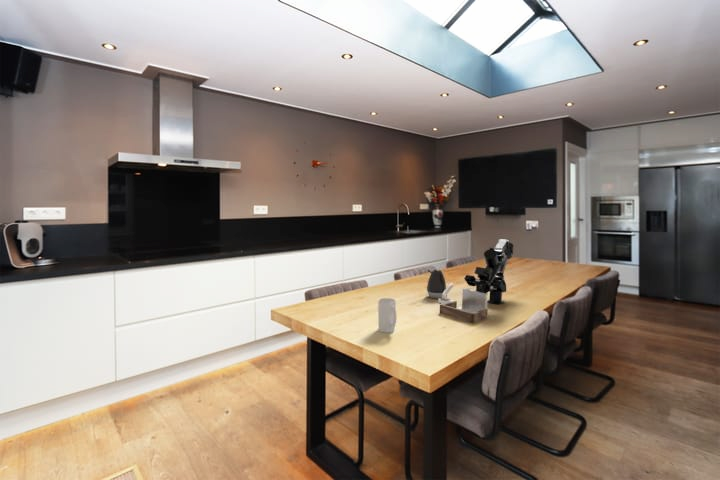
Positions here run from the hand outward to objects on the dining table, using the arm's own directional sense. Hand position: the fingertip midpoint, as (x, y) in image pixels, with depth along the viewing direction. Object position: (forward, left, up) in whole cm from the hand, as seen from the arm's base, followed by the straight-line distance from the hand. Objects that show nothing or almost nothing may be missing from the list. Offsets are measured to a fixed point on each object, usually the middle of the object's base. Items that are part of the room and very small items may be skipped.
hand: (476, 297), depth 170 cm
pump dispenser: (-6, -28, -7) cm, 30 cm away
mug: (+50, -6, -7) cm, 51 cm away
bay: (+10, 0, -7) cm, 12 cm away
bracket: (+5, 0, -7) cm, 8 cm away
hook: (-2, -19, -7) cm, 21 cm away
